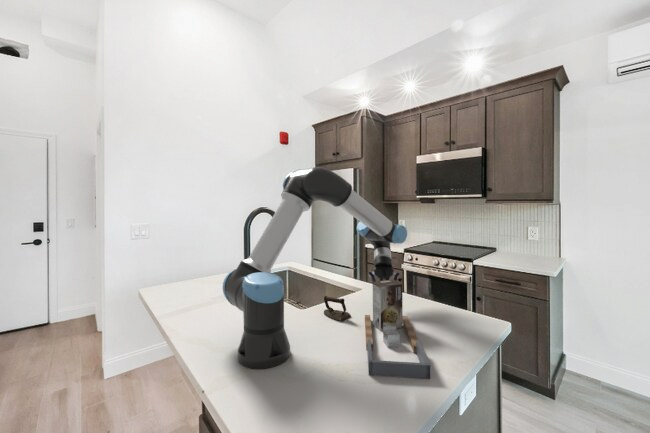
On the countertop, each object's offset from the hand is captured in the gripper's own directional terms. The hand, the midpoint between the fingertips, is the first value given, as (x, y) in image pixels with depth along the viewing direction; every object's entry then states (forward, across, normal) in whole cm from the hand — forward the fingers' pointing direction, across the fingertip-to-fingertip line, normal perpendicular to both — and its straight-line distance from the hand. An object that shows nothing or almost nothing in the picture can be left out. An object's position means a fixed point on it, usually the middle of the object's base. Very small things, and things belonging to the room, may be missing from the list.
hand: (386, 310), depth 116 cm
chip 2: (+17, 0, +13) cm, 21 cm away
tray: (+25, 0, +21) cm, 32 cm away
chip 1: (+13, 0, +9) cm, 16 cm away
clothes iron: (+2, +20, -3) cm, 20 cm away
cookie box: (+7, 0, +3) cm, 8 cm away
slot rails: (+12, 0, +8) cm, 14 cm away
